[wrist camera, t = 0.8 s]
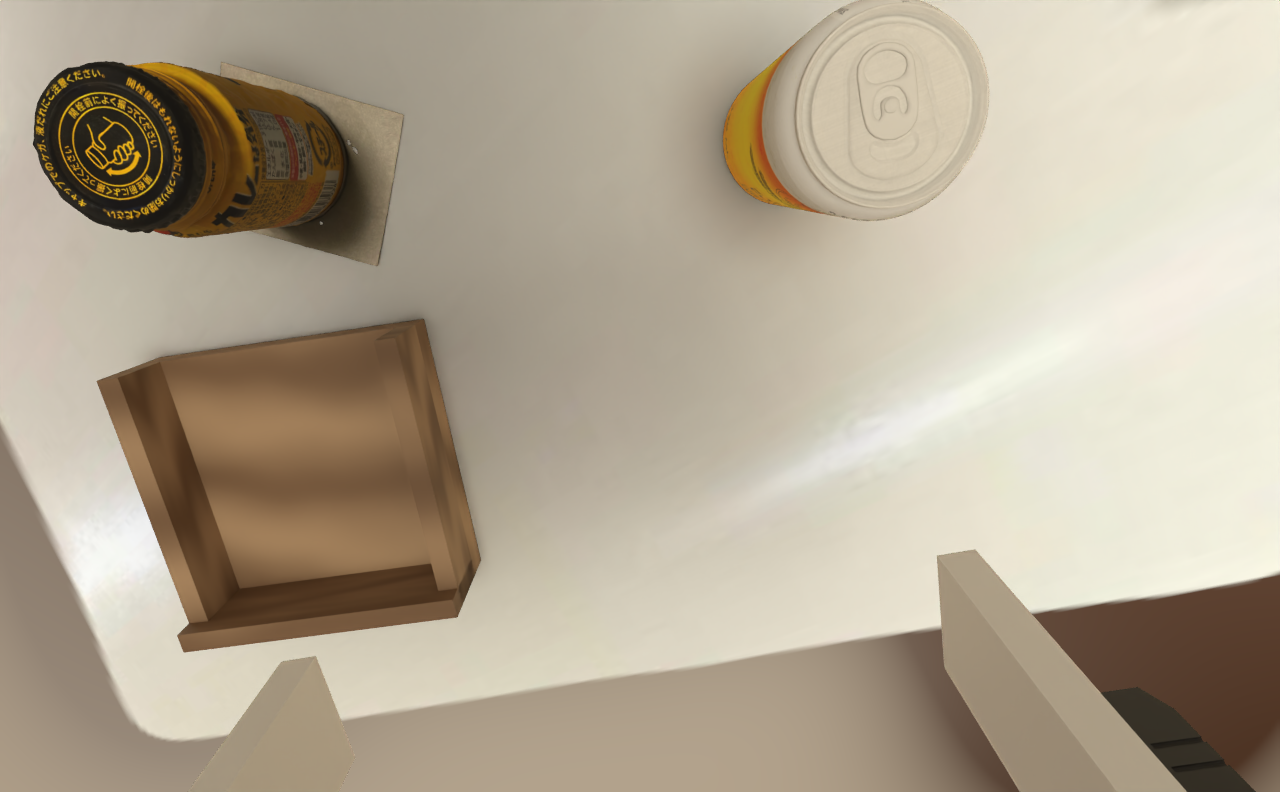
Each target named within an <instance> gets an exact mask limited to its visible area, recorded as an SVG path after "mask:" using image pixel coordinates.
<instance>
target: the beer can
mask: <svg viewBox="0 0 1280 792" xmlns="http://www.w3.org/2000/svg"><path fill="white" fill-rule="evenodd" d="M988 106H989V84H988V77H987V72H986V67H985V64H984V61H983V58H982V56H981V54H980V51H979V49H978V47H977V45H976V44H975V42H974V41H973V39H972V38H971V36H970V35H969V34H968V33H967V31H966V30H965V29H964V28H963V27H962V26H961V25H960V24H959V23H958V22H957V21H955V20H954V19H952V18H951V17H950V16H948V15H947V14H945V13H943V12H942V11H940V10H939V9H937V8H935V7H934V6H932V5H930V4H928V3H925V2H922V1H920V0H859V1H856V2H853V3H851V4H849V5H846V6H844V7H842V8H840V9H838V10H837V11H835V12H833V13H832V14H830V15H829V16H827V17H826V18H825V19H823V20H822V21H821V22H820V23H818V24H817V25H816V26H815V27H814V28H812V29H811V30H810V31H809V32H808V33H807V34H805V35H804V36H803V37H802V38H801V39H800V40H799V41H797V42H796V43H795V44H794V45H793V46H792V47H790V48H789V49H788V50H787V51H786V52H785V53H783V54H782V55H781V56H780V57H779V58H778V59H777V60H775V61H774V62H773V63H772V64H771V65H770V66H768V67H767V68H766V69H765V70H764V71H763V72H761V73H760V74H759V75H758V76H757V77H756V78H755V79H753V80H752V81H751V82H750V83H749V84H748V85H747V86H746V87H745V88H744V89H743V90H742V91H741V92H740V93H739V95H738V96H737V97H736V99H735V100H734V102H733V104H732V106H731V108H730V110H729V112H728V115H727V118H726V122H725V126H724V132H723V148H724V154H725V159H726V162H727V165H728V167H729V170H730V172H731V174H732V175H733V177H734V179H735V180H736V181H737V183H738V184H739V185H740V186H741V187H742V188H743V189H744V190H745V191H746V192H747V193H749V194H750V195H751V196H753V197H755V198H756V199H758V200H761V201H763V202H766V203H769V204H774V205H779V206H784V207H790V208H795V209H800V210H806V211H811V212H816V213H822V214H827V215H832V216H838V217H843V218H848V219H854V220H862V221H877V220H885V219H891V218H895V217H898V216H902V215H905V214H907V213H909V212H912V211H914V210H916V209H918V208H920V207H922V206H923V205H925V204H927V203H928V202H930V201H931V200H933V199H934V198H935V197H937V196H938V195H939V194H940V193H941V192H942V191H944V190H945V189H946V188H947V187H948V186H949V185H950V184H951V183H952V181H953V180H954V179H955V178H956V177H957V175H958V174H959V173H960V171H961V170H962V169H963V167H964V166H965V164H966V163H967V162H968V161H969V159H970V157H971V156H972V154H973V152H974V151H975V149H976V147H977V145H978V143H979V141H980V138H981V135H982V133H983V130H984V127H985V123H986V119H987V114H988Z"/></svg>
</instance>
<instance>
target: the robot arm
mask: <svg viewBox="0 0 1280 792" xmlns="http://www.w3.org/2000/svg"><path fill="white" fill-rule="evenodd" d="M937 564H938V579H939V594H940V610H941V625H942V640H943V653H944V654H943V655H944V668H945V669H946V671H947V672H948V674H949V676H950V678H951V679H952V681H953V683H954V684H955V686H956V687H957V689H958V691H959V692H960V694H961V695H962V697H963V699H964V701H965V702H966V704H967V705H968V707H969V709H970V710H971V712H972V714H973V715H974V717H975V719H976V720H977V722H978V724H979V725H980V727H981V729H982V730H983V732H984V733H985V735H986V737H987V738H988V740H989V742H990V743H991V745H992V747H993V748H994V750H995V752H996V753H997V755H998V756H999V758H1000V760H1001V761H1002V763H1003V764H1004V766H1005V768H1006V770H1007V771H1008V773H1009V775H1010V776H1011V778H1012V780H1013V781H1014V783H1015V785H1016V786H1017V788H1018V789H1019V791H1020V792H1255V791H1254V790H1253V789H1252V788H1251V787H1250V786H1249V785H1248V784H1247V783H1246V782H1245V781H1244V780H1243V778H1241V777H1240V775H1239V774H1238V773H1237V772H1236V771H1235V770H1234V769H1233V768H1232V767H1231V766H1229V765H1228V766H1227V765H1226V764H1225V762H1224V759H1223V758H1222V757H1221V756H1220V755H1219V754H1218V753H1217V752H1216V751H1215V750H1214V749H1213V748H1212V747H1211V746H1210V745H1209V744H1208V743H1207V742H1203V741H1202V739H1201V736H1200V735H1199V734H1198V733H1197V732H1196V731H1195V730H1194V729H1193V728H1192V727H1191V726H1190V725H1189V724H1188V723H1187V722H1186V721H1185V720H1184V719H1183V718H1182V717H1181V715H1180V714H1179V713H1178V712H1177V711H1176V710H1174V709H1173V708H1172V707H1170V706H1168V705H1167V704H1165V703H1163V702H1162V701H1160V700H1158V699H1156V698H1155V697H1153V696H1151V695H1150V694H1148V693H1146V692H1145V691H1143V690H1141V689H1140V688H1138V687H1136V688H1130V689H1123V690H1116V691H1109V692H1102V693H1100V692H1099V691H1098V690H1097V688H1096V687H1095V686H1094V685H1093V684H1092V683H1091V682H1090V680H1089V679H1088V678H1087V677H1086V676H1085V675H1084V674H1083V672H1082V671H1081V670H1080V669H1079V668H1078V667H1077V666H1076V664H1075V663H1074V662H1073V661H1072V660H1071V659H1070V658H1069V656H1068V655H1067V654H1066V653H1065V652H1064V651H1063V649H1062V648H1061V647H1060V646H1059V645H1058V644H1057V643H1056V641H1055V640H1054V639H1053V638H1052V637H1051V636H1050V635H1049V634H1048V632H1047V631H1046V630H1045V629H1044V628H1043V627H1042V626H1041V624H1040V623H1039V622H1038V621H1037V620H1036V619H1035V618H1034V616H1033V615H1032V614H1031V613H1030V612H1029V611H1028V609H1027V608H1026V607H1025V606H1024V605H1023V604H1022V603H1021V601H1020V600H1019V599H1018V598H1017V597H1016V596H1015V595H1014V593H1013V592H1012V591H1011V590H1010V589H1009V588H1008V587H1007V585H1006V584H1005V583H1004V582H1003V581H1002V580H1001V579H1000V577H999V576H998V575H997V574H996V573H995V572H994V571H993V569H992V568H991V567H990V566H989V565H988V564H987V563H986V561H985V560H984V559H983V558H982V557H981V556H980V555H979V553H978V552H977V551H976V550H970V551H963V552H957V553H951V554H945V555H939V556H937ZM354 759H355V755H354V753H353V750H352V748H351V745H350V743H349V740H348V737H347V735H346V732H345V730H344V727H343V725H342V722H341V719H340V717H339V714H338V712H337V709H336V707H335V704H334V701H333V699H332V696H331V694H330V691H329V689H328V686H327V684H326V681H325V678H324V676H323V673H322V671H321V668H320V666H319V663H318V661H317V658H316V656H314V657H308V658H302V659H295V660H289V661H283V662H281V663H280V664H279V666H278V667H277V669H276V670H275V671H274V673H273V674H272V676H271V677H270V678H269V680H268V681H267V682H266V684H265V685H264V687H263V688H262V689H261V691H260V692H259V694H258V695H257V696H256V698H255V699H254V701H253V702H252V703H251V705H250V706H249V707H248V709H247V710H246V712H245V713H244V714H243V716H242V717H241V719H240V720H239V721H238V723H237V724H236V726H235V727H234V728H233V730H232V731H231V732H230V734H229V735H228V737H227V738H226V740H225V741H224V742H223V744H222V745H221V746H220V748H219V749H218V751H217V752H216V753H215V755H214V756H213V758H212V759H211V760H210V762H209V763H208V764H207V766H206V767H205V769H204V770H203V771H202V773H201V774H200V775H199V777H198V778H197V780H196V781H195V782H194V784H193V785H192V787H191V788H190V789H189V791H188V792H339V791H340V789H341V786H342V784H343V782H344V780H345V778H346V776H347V774H348V772H349V770H350V768H351V765H352V763H353V761H354Z"/></svg>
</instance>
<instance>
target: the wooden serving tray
mask: <svg viewBox="0 0 1280 792" xmlns="http://www.w3.org/2000/svg"><path fill="white" fill-rule="evenodd" d="M97 383H98V386H99V389H100V391H101V394H102V396H103V399H104V402H105V404H106V407H107V409H108V412H109V415H110V417H111V420H112V423H113V425H114V428H115V430H116V433H117V436H118V438H119V441H120V443H121V446H122V449H123V451H124V454H125V457H126V459H127V462H128V464H129V467H130V470H131V472H132V475H133V477H134V480H135V483H136V485H137V488H138V491H139V493H140V496H141V498H142V501H143V504H144V506H145V509H146V511H147V514H148V517H149V519H150V522H151V525H152V527H153V530H154V532H155V535H156V538H157V540H158V543H159V545H160V548H161V551H162V553H163V556H164V559H165V561H166V564H167V566H168V569H169V572H170V574H171V577H172V580H173V582H174V585H175V587H176V590H177V593H178V595H179V598H180V600H181V603H182V606H183V608H184V611H185V614H186V616H187V619H188V621H189V624H188V625H187V626H186V627H185V628H184V629H183V630H182V631H181V632H180V633H179V634H178V635H177V636H178V639H179V641H180V644H181V647H182V649H183V652H191V651H199V650H207V649H215V648H222V647H230V646H238V645H246V644H253V643H261V642H269V641H277V640H285V639H292V638H300V637H308V636H316V635H323V634H331V633H339V632H347V631H355V630H362V629H370V628H378V627H386V626H393V625H401V624H409V623H417V622H425V621H432V620H440V619H448V618H456V617H458V614H459V612H460V610H461V607H462V605H463V602H464V600H465V597H466V595H467V593H468V590H469V588H470V585H471V583H472V581H473V578H474V576H475V573H476V571H477V568H478V566H479V564H480V561H481V559H480V554H479V550H478V546H477V542H476V538H475V533H474V529H473V525H472V521H471V516H470V512H469V508H468V504H467V499H466V495H465V491H464V487H463V483H462V478H461V474H460V470H459V466H458V461H457V457H456V453H455V449H454V445H453V440H452V436H451V432H450V428H449V423H448V419H447V415H446V411H445V406H444V402H443V398H442V394H441V390H440V385H439V381H438V377H437V373H436V368H435V364H434V360H433V356H432V352H431V347H430V343H429V339H428V335H427V330H426V326H425V322H424V319H421V320H414V321H407V322H400V323H393V324H386V325H379V326H372V327H366V328H359V329H352V330H345V331H338V332H331V333H324V334H318V335H311V336H304V337H297V338H290V339H283V340H276V341H270V342H263V343H256V344H249V345H242V346H235V347H228V348H221V349H215V350H208V351H201V352H194V353H187V354H180V355H173V356H167V357H160V358H157V359H154V360H152V361H149V362H146V363H144V364H141V365H138V366H136V367H133V368H130V369H128V370H125V371H122V372H119V373H117V374H114V375H111V376H109V377H106V378H103V379H101V380H98V381H97Z"/></svg>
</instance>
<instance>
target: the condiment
mask: <svg viewBox="0 0 1280 792" xmlns="http://www.w3.org/2000/svg"><path fill="white" fill-rule="evenodd" d="M403 116H404V115H403V114H399V113H396V112H392V111H389V110H385V109H382V108H379V107H375V106H372V105H368V104H365V103H361V102H358V101H354V100H350V99H347V98H344V97H341V96H337V95H334V94H330V93H327V92H323V91H320V90H316V89H313V88H309V87H306V86H303V85H299V84H296V83H292V82H289V81H285V80H282V79H278V78H275V77H271V76H268V75H265V74H261V73H258V72H254V71H251V70H247V69H244V68H240V67H237V66H234V65H230V64H227V63H223V62H221V73H220V76H218V75H214V74H211V73H206V72H203V71H199V70H197V69H193V68H189V67H182V66H177V65H174V64H170V63H163V62H159V63H144V64H139V65H124V64H123V63H117V62H108V61H105V62H94V63H87V64H85V65H82V66H80V67H73V68H67V69H65V70H63V71H62V72H60V73H59V74H58V75H57V76H56V77H55V78H54V79H53V80H52V81H51V82H50V83H49V84H48V86H47V87H46V89H45V90H44V92H43V93H42V95H41V97H40V99H39V101H38V103H37V108H36V112H35V125H34V141H33V146H34V147H35V149H36V150H37V152H38V157H39V161H40V164H41V167H42V169H43V171H44V173H45V174H46V175H47V177H48V178H49V180H50V182H51V183H52V185H53V186H54V187H55V188H56V190H57V191H58V193H59V195H60V196H61V198H62V199H63V200H65V201H66V202H67V203H69V204H70V205H71V206H73V207H74V208H75V209H77V210H78V211H80V212H81V213H82V214H84V215H85V216H86V217H88V218H89V219H91V220H92V221H94V222H96V223H98V224H102V225H105V226H110V227H112V228H114V229H118V230H126V231H128V232H139V231H143V232H144V233H150V232H152V231H155V232H158V233H162V234H168V235H173V236H176V237H183V238H185V237H186V238H191V237H195V238H196V237H203V236H209V235H220V234H225V233H226V234H229V233H234V232H241V231H252V232H256V233H260V234H264V235H267V236H271V237H274V238H278V239H282V240H285V241H289V242H292V243H295V244H299V245H302V246H305V247H309V248H314V249H317V250H321V251H324V252H328V253H332V254H336V255H339V256H343V257H346V258H350V259H353V260H356V261H360V262H364V263H368V264H371V265H375V266H377V264H378V259H379V254H380V249H381V245H382V239H383V234H384V229H385V222H386V217H387V213H388V207H389V201H390V195H391V189H392V184H393V179H394V171H395V163H396V158H397V153H398V148H399V141H400V134H401V128H402V122H403ZM347 140H350V142H351V146H350V145H348V144H347ZM352 147H355V148H356V149H357V150H358V154H356V153H355V152H354V151H353V148H352ZM320 221H321V222H323V224H322V225H320Z"/></svg>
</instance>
